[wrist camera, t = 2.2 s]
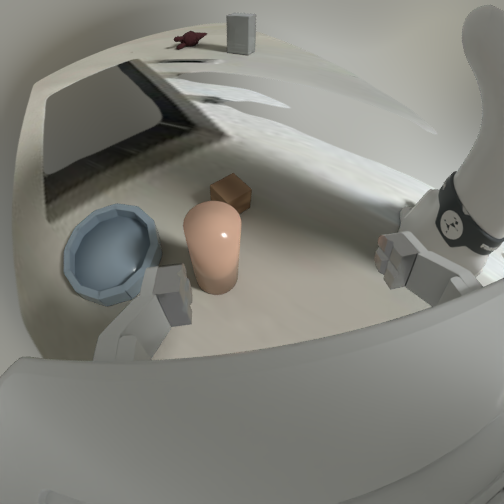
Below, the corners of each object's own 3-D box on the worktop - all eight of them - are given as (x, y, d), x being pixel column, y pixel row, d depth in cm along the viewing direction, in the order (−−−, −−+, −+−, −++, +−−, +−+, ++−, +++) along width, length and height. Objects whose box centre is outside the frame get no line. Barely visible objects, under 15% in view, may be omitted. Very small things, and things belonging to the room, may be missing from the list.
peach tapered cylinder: (230, 252, 35) (231, 195, 26) (243, 287, 33) (249, 239, 23) (191, 263, 34) (178, 208, 24) (202, 299, 32) (190, 255, 22)
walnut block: (232, 191, 41) (233, 172, 37) (249, 207, 39) (251, 189, 36) (211, 204, 39) (209, 185, 36) (227, 221, 38) (227, 203, 34)
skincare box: (255, 51, 76) (258, 13, 62) (247, 56, 72) (250, 16, 59) (233, 48, 77) (235, 11, 63) (224, 53, 74) (226, 14, 60)
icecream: (199, 27, 78) (168, 37, 73) (210, 25, 74) (178, 35, 69) (203, 41, 83) (172, 52, 78) (214, 39, 79) (182, 51, 74)
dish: (152, 204, 38) (149, 193, 36) (170, 288, 32) (166, 280, 30) (72, 230, 35) (65, 221, 33) (74, 315, 29) (65, 308, 27)
